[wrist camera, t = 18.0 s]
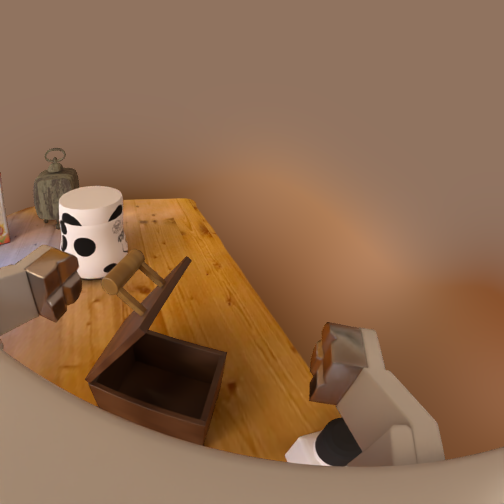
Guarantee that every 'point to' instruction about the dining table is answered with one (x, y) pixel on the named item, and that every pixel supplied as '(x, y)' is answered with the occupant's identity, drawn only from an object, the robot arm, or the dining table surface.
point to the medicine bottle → (325, 446)
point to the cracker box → (3, 219)
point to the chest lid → (134, 305)
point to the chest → (163, 386)
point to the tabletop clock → (53, 188)
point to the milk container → (93, 229)
